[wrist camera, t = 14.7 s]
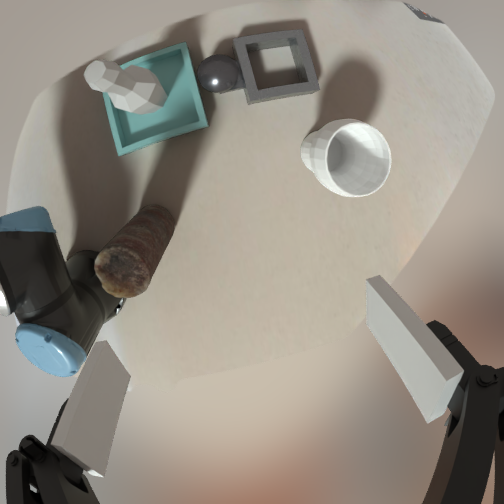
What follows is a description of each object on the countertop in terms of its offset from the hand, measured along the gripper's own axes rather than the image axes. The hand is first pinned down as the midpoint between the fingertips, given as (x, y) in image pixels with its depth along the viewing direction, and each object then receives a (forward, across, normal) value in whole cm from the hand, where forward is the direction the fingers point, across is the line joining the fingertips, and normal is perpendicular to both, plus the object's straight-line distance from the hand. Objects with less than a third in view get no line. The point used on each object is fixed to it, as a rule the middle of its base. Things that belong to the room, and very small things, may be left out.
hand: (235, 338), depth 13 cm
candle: (+37, -14, -2) cm, 40 cm away
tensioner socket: (+37, +9, +19) cm, 42 cm away
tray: (+37, -8, +19) cm, 42 cm away
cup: (+37, +17, +3) cm, 41 cm away
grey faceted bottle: (+36, -8, +19) cm, 41 cm away
